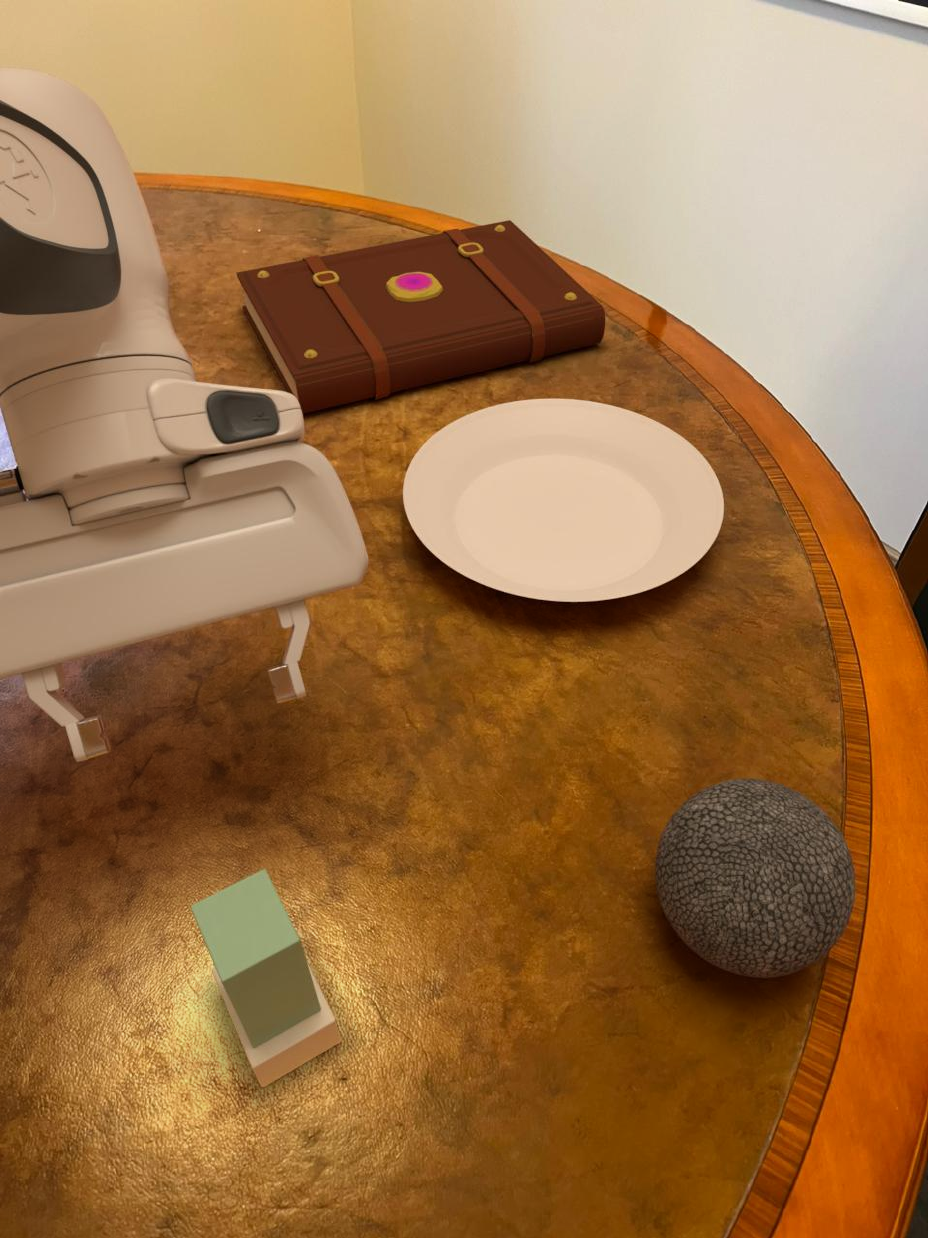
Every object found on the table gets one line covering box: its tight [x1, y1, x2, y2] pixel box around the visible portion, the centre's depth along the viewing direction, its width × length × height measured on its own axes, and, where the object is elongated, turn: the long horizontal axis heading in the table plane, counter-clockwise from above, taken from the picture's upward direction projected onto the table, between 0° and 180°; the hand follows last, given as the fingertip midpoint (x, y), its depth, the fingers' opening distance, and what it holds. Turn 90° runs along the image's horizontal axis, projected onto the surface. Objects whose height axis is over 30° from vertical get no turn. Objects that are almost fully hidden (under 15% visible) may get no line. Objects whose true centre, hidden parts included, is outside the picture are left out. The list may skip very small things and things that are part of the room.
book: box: [235, 219, 606, 415], centre depth 95 cm, size 23×32×5 cm
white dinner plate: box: [402, 398, 725, 603], centre depth 74 cm, size 25×25×4 cm
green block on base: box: [190, 868, 342, 1088], centre depth 45 cm, size 4×6×11 cm
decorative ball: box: [654, 777, 856, 979], centre depth 49 cm, size 10×10×10 cm
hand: (195, 727), depth 45 cm, fingers open, 8 cm apart
